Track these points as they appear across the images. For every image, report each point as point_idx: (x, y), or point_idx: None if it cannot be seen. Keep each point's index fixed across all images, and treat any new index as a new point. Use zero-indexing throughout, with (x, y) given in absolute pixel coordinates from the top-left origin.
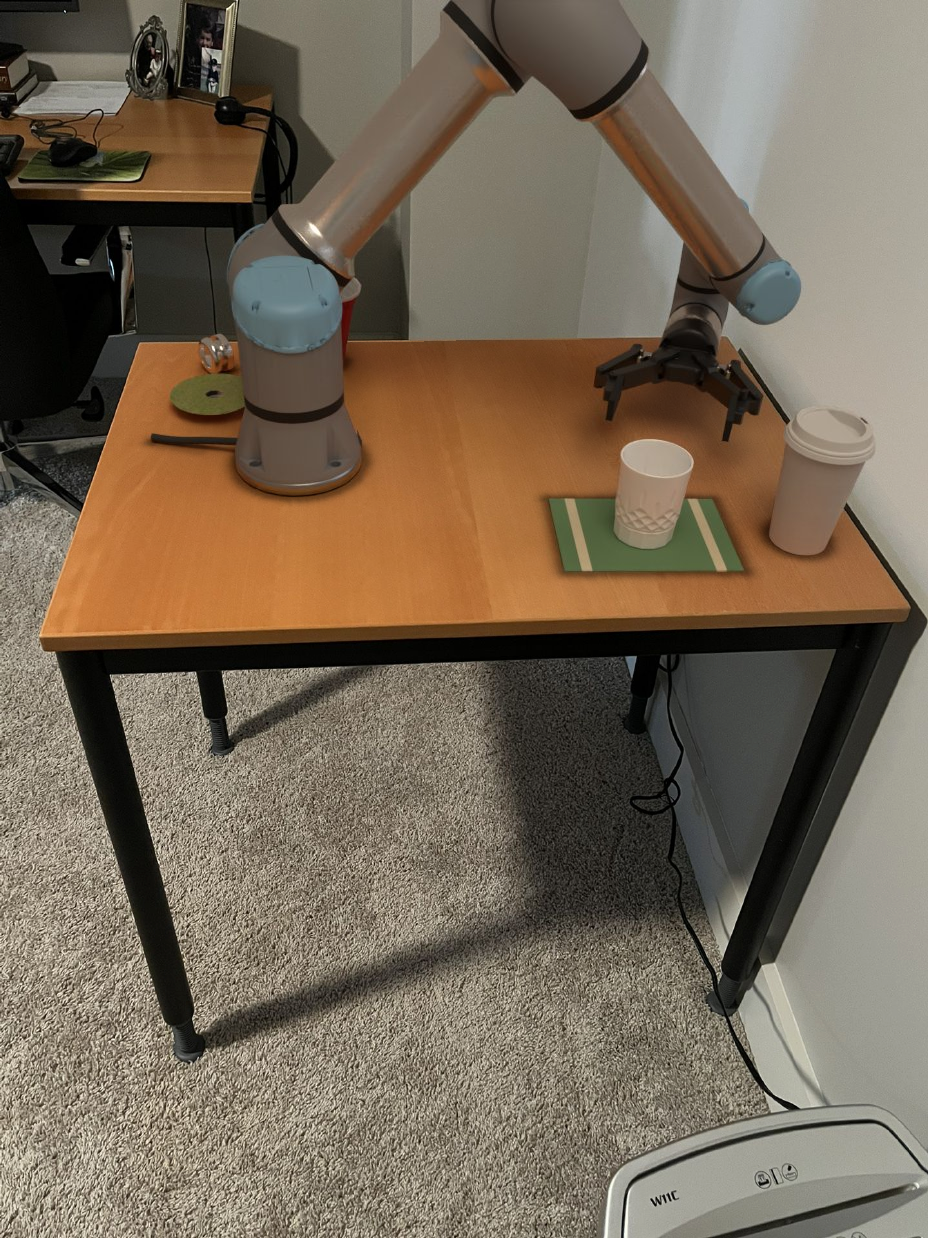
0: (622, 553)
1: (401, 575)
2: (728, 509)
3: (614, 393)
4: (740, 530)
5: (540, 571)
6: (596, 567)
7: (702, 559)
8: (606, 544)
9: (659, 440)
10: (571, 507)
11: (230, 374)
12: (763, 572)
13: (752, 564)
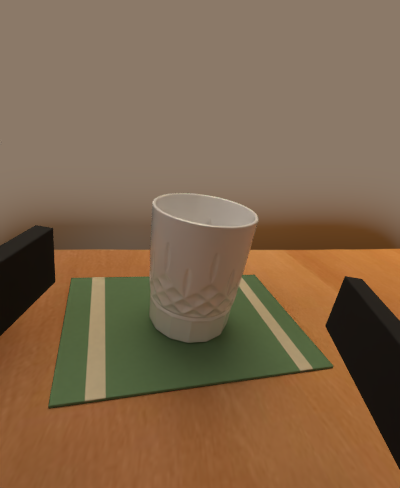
0: None
1: (365, 272)
2: (26, 382)
3: (372, 301)
4: (35, 335)
5: (273, 276)
6: None
7: (117, 287)
8: None
9: (207, 225)
10: (292, 351)
11: None
12: None
13: (54, 287)
